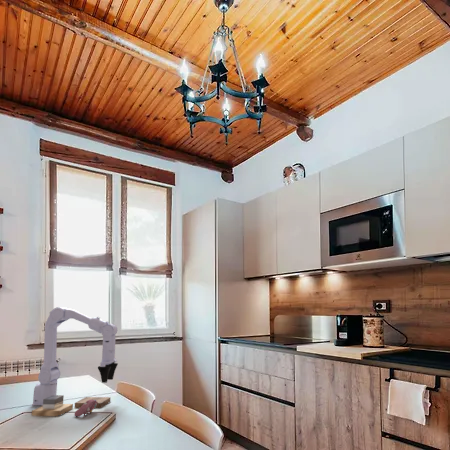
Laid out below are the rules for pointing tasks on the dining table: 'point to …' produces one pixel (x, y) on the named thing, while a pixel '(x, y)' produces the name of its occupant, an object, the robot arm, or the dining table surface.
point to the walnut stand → (101, 400)
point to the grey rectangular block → (53, 402)
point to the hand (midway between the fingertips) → (107, 381)
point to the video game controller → (86, 407)
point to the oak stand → (54, 412)
